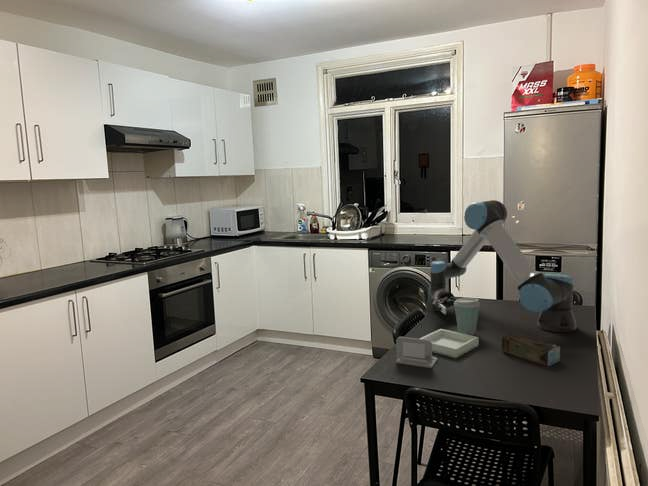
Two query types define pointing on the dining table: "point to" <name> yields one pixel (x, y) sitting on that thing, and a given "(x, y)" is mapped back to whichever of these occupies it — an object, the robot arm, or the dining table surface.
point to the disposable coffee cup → (467, 315)
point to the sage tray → (451, 342)
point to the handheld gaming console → (414, 352)
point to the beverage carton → (531, 349)
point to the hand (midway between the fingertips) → (460, 310)
